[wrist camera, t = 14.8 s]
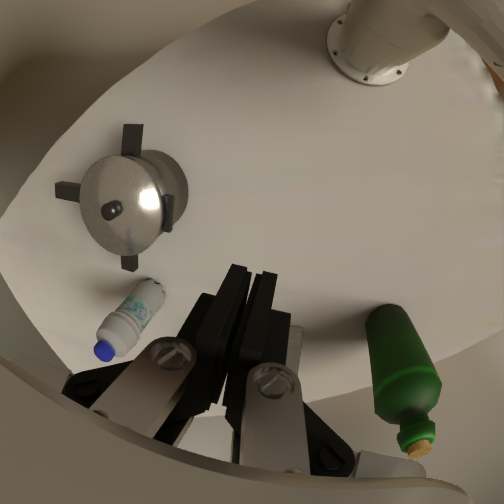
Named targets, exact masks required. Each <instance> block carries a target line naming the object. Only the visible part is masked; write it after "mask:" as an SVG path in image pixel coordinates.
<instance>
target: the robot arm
mask: <svg viewBox="0 0 504 504" xmlns="http://www.w3.org/2000/svg"><path fill="white" fill-rule="evenodd" d="M338 23H341V25H340V24H338ZM450 28H451V29H452V30H453V31H454V32H455V33H457V34H458V35H459V36H461V37H462V38H463V39H464V40H465V41H466V42H467V43H468V44H469V45H470V46H471V47H472V48H473V49H474V50H475V51H476V52H477V53H478V54H479V55H480V56H481V57H482V58H483V59H484V60H485V61H486V62H487V63H488V64H489V65H490V67H491V68H492V69H493V70H494V71H495V72H496V73H497V74H498V75H499V77H500V78H501V79H502V80H503V81H504V0H352V1H351V4H350V6H349V9H348V12H347V13H346V14H343V15H341V16H340V17H338V18H337V19H336V20H335V21H334V22H333V23H332V25H331V26H330V28H329V31H328V35H327V48H328V52H329V55H330V57H331V59H332V61H333V62H334V63H335V65H336V66H337V67H338V68H339V69H340V70H341V71H342V72H343V73H344V74H345V75H347V76H348V77H349V78H351V79H353V80H355V81H357V82H359V83H362V84H365V85H369V86H385V85H389V84H392V83H394V82H396V81H398V80H399V79H400V78H402V77H403V76H404V74H405V73H406V71H407V70H408V67H409V64H410V60H412V59H414V58H416V57H417V56H419V55H421V54H423V53H424V52H426V51H428V50H430V49H432V48H433V47H435V46H437V45H438V44H440V43H441V42H442V41H443V40H444V39H445V38H446V36H447V35H448V33H449V31H450ZM333 53H336V54H337V55H334V54H333ZM396 72H398V74H397V73H396ZM363 78H365V79H366V81H364V80H363ZM251 275H252V272H248V271H247V267H244V266H240V265H235V264H232V265H231V267H230V269H229V271H228V273H227V275H226V277H225V279H224V281H223V283H222V285H221V287H220V289H219V291H218V292H217V294H216V296H215V295H211V294H207V293H202V294H201V295H200V297H199V299H198V300H197V302H196V304H195V305H194V307H193V309H192V310H191V312H190V314H189V316H188V317H187V319H186V321H185V322H184V324H183V326H182V328H181V329H180V331H179V333H178V335H177V336H176V337H161V338H158V339H156V340H153V341H152V342H151V343H150V344H148V345H147V346H146V348H145V349H144V350H143V351H142V352H141V353H140V354H139V355H138V356H137V357H136V358H135V359H134V360H131V361H127V362H123V363H119V364H115V365H110V366H106V367H101V368H97V369H92V370H87V371H83V372H80V373H77V374H73V373H72V371H71V370H69V369H66V368H62V367H59V366H56V365H52V364H50V363H47V362H44V361H41V360H38V359H35V358H32V357H30V356H25V355H20V356H17V357H15V358H13V359H12V360H11V361H10V360H8V359H6V358H5V357H3V356H1V355H0V504H473V502H472V500H471V498H470V496H469V495H468V493H467V492H466V491H465V490H464V489H462V488H461V487H459V486H457V485H454V484H452V483H449V482H445V481H442V480H437V479H432V478H426V471H425V469H424V468H423V466H422V465H421V464H420V463H418V462H416V461H413V460H408V459H403V458H397V457H392V456H387V455H382V454H377V453H373V452H369V451H364V450H361V451H360V452H356V451H353V450H352V449H351V448H350V447H349V445H348V444H347V443H346V442H344V440H342V439H341V438H340V437H339V436H338V435H337V434H336V433H335V432H334V431H333V430H332V429H331V428H330V427H329V426H328V425H327V424H326V423H325V422H324V421H323V420H322V419H321V418H320V417H318V416H317V415H316V414H315V413H314V412H313V411H312V410H311V409H310V408H309V407H308V406H307V405H306V404H305V403H304V402H303V399H302V391H301V384H300V381H299V378H298V376H297V375H296V374H295V372H293V371H292V370H291V369H290V368H288V367H286V358H287V349H288V340H289V330H290V320H291V313H286V312H282V311H277V310H273V309H271V307H272V302H273V297H274V291H275V286H276V281H277V276H278V274H274V273H270V272H266V271H263V273H262V275H261V274H257V273H256V276H255V279H254V282H253V285H252V288H251V291H250V294H249V298H248V301H247V296H248V291H249V286H250V281H251ZM246 301H247V304H246ZM227 373H228V374H227ZM226 376H227V380H226V385H225V391H224V397H223V402H222V406H226V407H227V409H226V414H225V419H226V420H227V421H228V423H229V424H230V425H231V427H232V428H233V432H232V443H231V457H230V462H225V461H221V460H217V459H213V458H210V457H206V456H202V455H199V454H196V453H192V452H189V451H186V450H183V449H180V448H177V446H178V444H179V443H180V441H181V439H182V438H183V436H184V434H185V433H186V431H187V430H188V428H189V426H190V425H191V423H192V421H193V419H194V416H196V415H198V414H201V413H204V412H205V410H208V411H209V408H210V405H211V403H215V404H217V403H218V400H219V397H220V394H221V391H222V388H223V385H224V382H225V379H226Z"/></svg>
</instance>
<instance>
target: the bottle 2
mask: <svg viewBox="0 0 504 504" xmlns="http://www.w3.org/2000/svg"><path fill="white" fill-rule="evenodd" d="M365 326H366V334H367V341H368V348H369V356H370V364H371V373H372V383H373V394H374V407H375V414H377V415H378V416H379V417H380V418H382V419H383V420H385V421H386V422H388V423H390V424H398V425H400V432H399V433H398V434H397V441H398V444H399V446H400V448H401V451H402V452H405V453H408V458H410V459H412V458H418V457H421V456H423V455H425V454H427V453H428V452H430V451H431V449H432V447H431V445H430V444H431V443H433V442H434V440H435V423H434V422H433V421H430V420H429V417H428V415H427V414H428V412H429V411H430V410H431V409H432V408H433V407H434V406H435V405H436V404H437V402H438V398H439V396H440V392H441V387H442V383H441V380H440V378H439V376H438V374H437V372H436V369H435V367H434V365H433V363H432V361H431V359H430V357H429V355H428V353H427V351H426V349H425V347H424V345H423V343H422V341H421V339H420V337H419V335H418V333H417V331H416V329H415V327H414V326H413V324H412V322H411V320H410V318H409V316H408V315H407V313H406V312H405V311H404V309H403V308H402V307H401V306H397V305H392V304H390V305H386V306H382V307H379V308H378V309H376V310H375V311H374V312H373V313H371V314H370V315H369V317H368V319H367V321H366V323H365Z"/></svg>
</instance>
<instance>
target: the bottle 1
mask: <svg viewBox="0 0 504 504" xmlns="http://www.w3.org/2000/svg"><path fill="white" fill-rule="evenodd" d="M165 297H166V293H165V292H164V291H162V285H161V284H155V281H154V280H153V279H149V280H147V281H146V280H144V281H141V282H140V283H139V284H138V285H137V286H136V287H135V288H134V290H133V291H132V292H131V293H130V295H129V296H128V297H127V298H126V299H125V300H124V301H123V303H122V304H121V305H120V306H119V307H118V308H117V309H116V310H115V311H114V312H111V313H110V314H109V315H108V316H107V317H106V318H105V319H104V321H103V323H102V324H101V326H100V327H99V329H98V330H97V334H96V336H97V340H98V342H97V343H96V345H95V346H94V353H95V355H96V356H97V357H98V358H99V359H100V360H101V361H103V362H109V361H111V360H112V358H113V357H114V356H116V357H123V356H125V355H126V354H127V353H128V352H129V351H130V350H131V349H132V348H133V347H134V346H135V345H136V343H137V341H138V340H139V338H140V334H141V332H142V331H143V330H144V328H145V327H146V325H147V324H148V323H149V321H150V320H151V319H152V317H153V316H154V315H155V314H156V313H157V312H158V311H159V309H160V308H161V307H162V305H163V303H164V300H165Z"/></svg>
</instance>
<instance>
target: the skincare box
mask: <svg viewBox="0 0 504 504" xmlns="http://www.w3.org/2000/svg"><path fill="white" fill-rule="evenodd" d="M302 339H303V327H294V326H290V330H289V340H288V349H287V358H286V367H288V368H290V369H291V370H292V371H293V372H295V374H296V375H297V376H298V369H299V362H300V355H301V347H302Z"/></svg>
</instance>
